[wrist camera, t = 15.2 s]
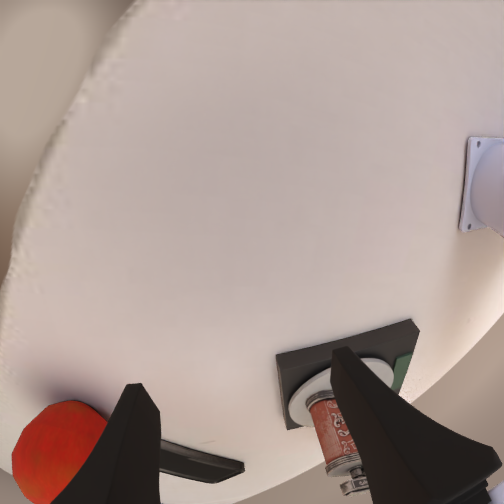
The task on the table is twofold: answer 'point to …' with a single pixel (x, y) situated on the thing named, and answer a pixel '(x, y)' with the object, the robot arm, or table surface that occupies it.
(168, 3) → the table surface
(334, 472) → the lighter
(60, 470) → the apple
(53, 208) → the table surface
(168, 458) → the phone
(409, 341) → the scale
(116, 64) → the table surface
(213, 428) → the table surface
